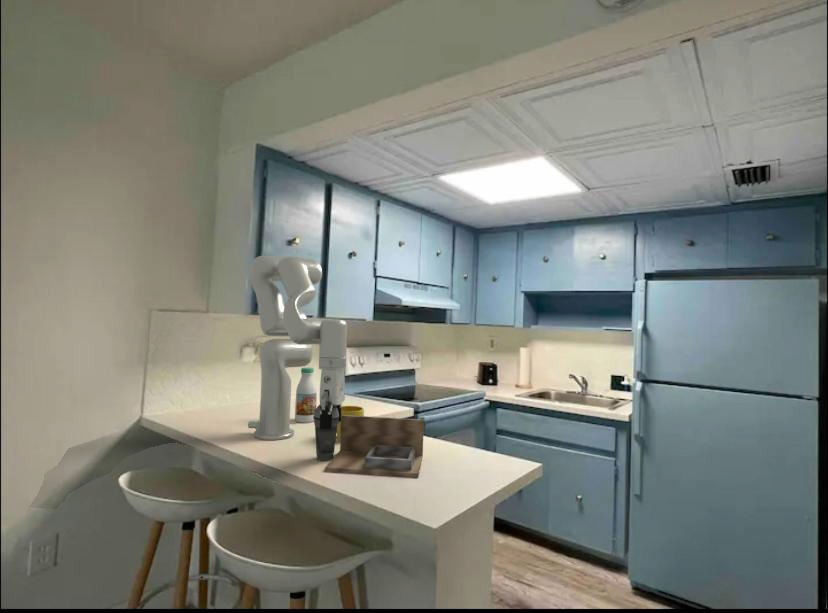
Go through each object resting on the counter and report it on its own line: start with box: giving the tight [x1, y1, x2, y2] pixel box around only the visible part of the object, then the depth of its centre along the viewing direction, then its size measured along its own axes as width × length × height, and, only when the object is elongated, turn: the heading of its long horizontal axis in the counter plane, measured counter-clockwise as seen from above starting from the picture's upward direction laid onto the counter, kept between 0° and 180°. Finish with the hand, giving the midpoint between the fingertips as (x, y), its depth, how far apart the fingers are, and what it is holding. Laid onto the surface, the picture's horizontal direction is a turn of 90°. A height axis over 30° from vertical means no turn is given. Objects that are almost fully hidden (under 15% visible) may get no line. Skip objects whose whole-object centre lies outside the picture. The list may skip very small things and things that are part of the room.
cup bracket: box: [324, 415, 425, 478], centre depth 121 cm, size 24×16×11 cm, turn 85°
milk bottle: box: [294, 367, 318, 424], centre depth 168 cm, size 8×8×20 cm
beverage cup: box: [313, 403, 339, 462], centre depth 124 cm, size 7×7×20 cm
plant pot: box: [336, 405, 365, 441], centre depth 146 cm, size 10×10×10 cm
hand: (330, 425), depth 124 cm, fingers open, 9 cm apart
